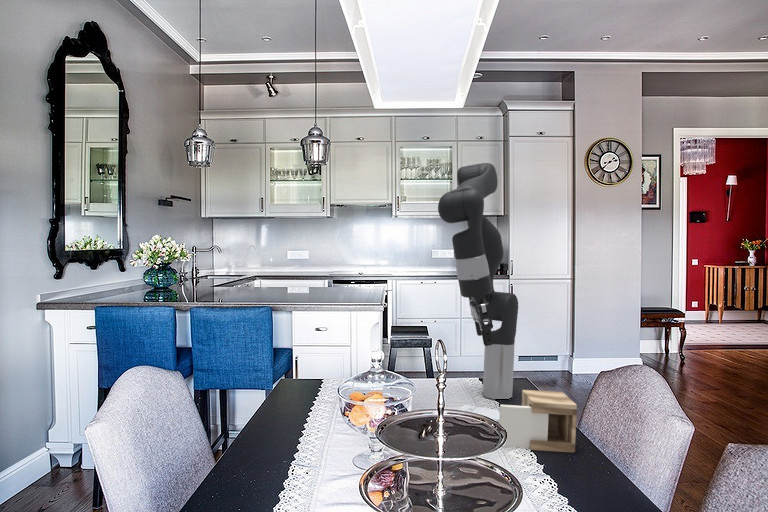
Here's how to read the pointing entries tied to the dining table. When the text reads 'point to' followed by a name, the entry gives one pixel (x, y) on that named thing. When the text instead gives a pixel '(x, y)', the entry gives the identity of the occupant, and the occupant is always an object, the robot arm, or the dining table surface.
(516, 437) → the cover plate
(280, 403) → the dining table surface
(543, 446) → the box
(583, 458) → the dining table surface
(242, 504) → the dining table surface
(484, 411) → the external hard drive
